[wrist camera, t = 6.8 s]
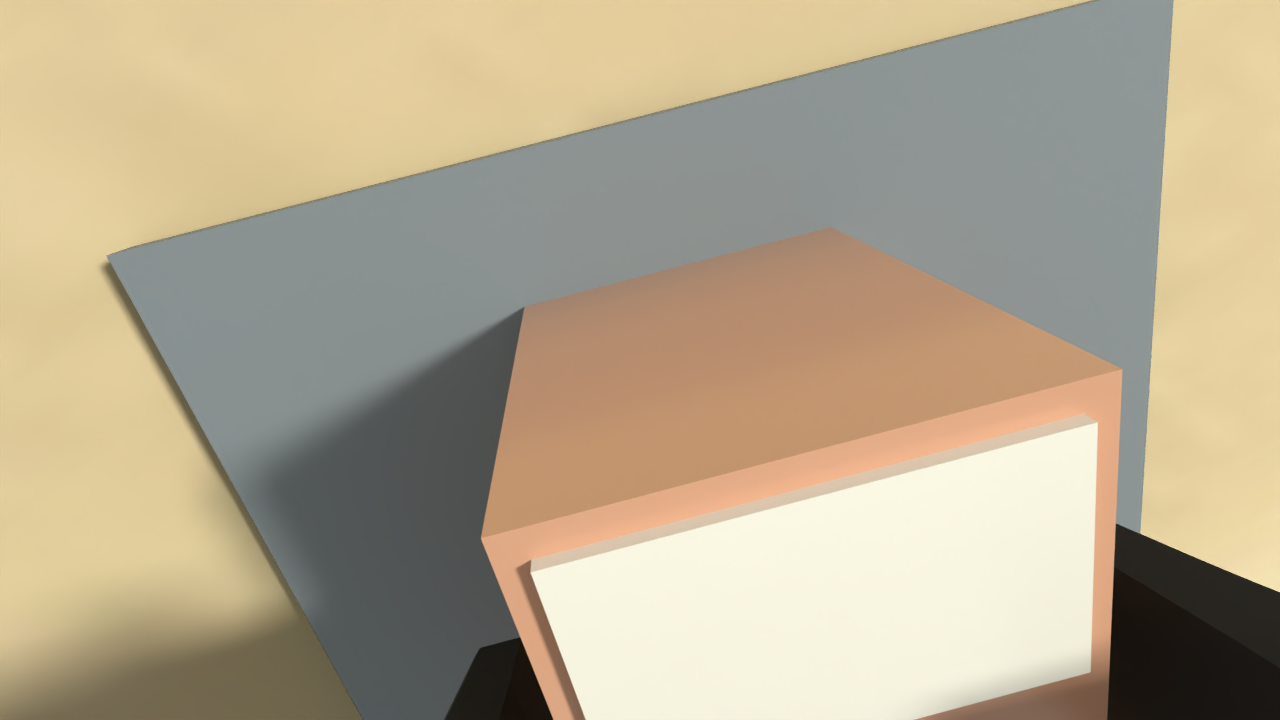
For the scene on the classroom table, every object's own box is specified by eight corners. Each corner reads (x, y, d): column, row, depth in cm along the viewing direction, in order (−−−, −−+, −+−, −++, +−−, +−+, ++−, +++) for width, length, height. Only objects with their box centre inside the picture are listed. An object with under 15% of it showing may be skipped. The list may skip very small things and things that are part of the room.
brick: (884, 646, 14) (1104, 1021, 8) (652, 708, 14) (713, 1128, 8) (830, 226, 11) (1137, 376, 5) (524, 306, 11) (479, 551, 5)
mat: (1141, -13, 10) (1174, -19, 10) (1111, 652, 16) (1131, 673, 15) (131, 246, 10) (106, 256, 10) (444, 831, 16) (439, 858, 15)
